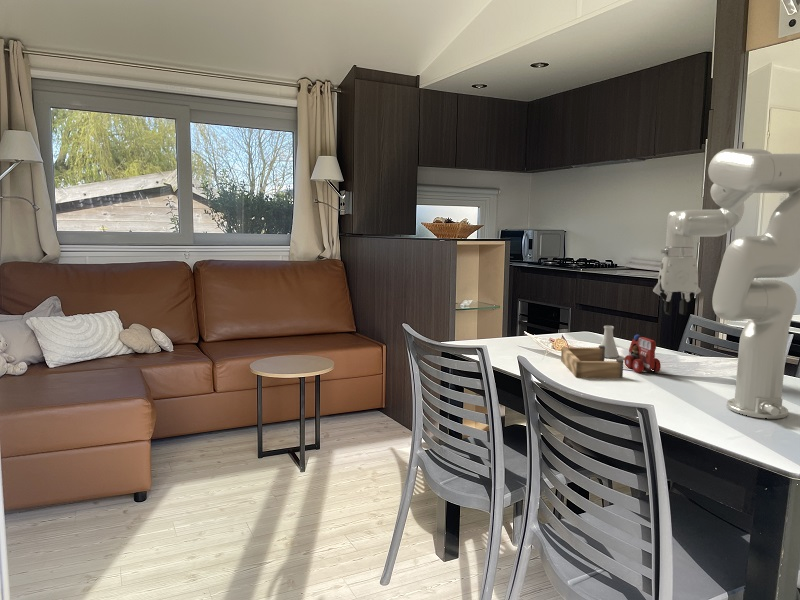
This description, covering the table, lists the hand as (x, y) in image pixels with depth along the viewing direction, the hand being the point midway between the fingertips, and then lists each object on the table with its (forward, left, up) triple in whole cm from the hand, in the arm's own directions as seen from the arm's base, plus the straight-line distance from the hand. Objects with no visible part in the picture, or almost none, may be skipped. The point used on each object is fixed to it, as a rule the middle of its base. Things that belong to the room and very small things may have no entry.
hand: (675, 313), depth 174 cm
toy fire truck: (0, +9, -18) cm, 20 cm away
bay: (0, +24, -17) cm, 30 cm away
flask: (+17, +14, -18) cm, 28 cm away
